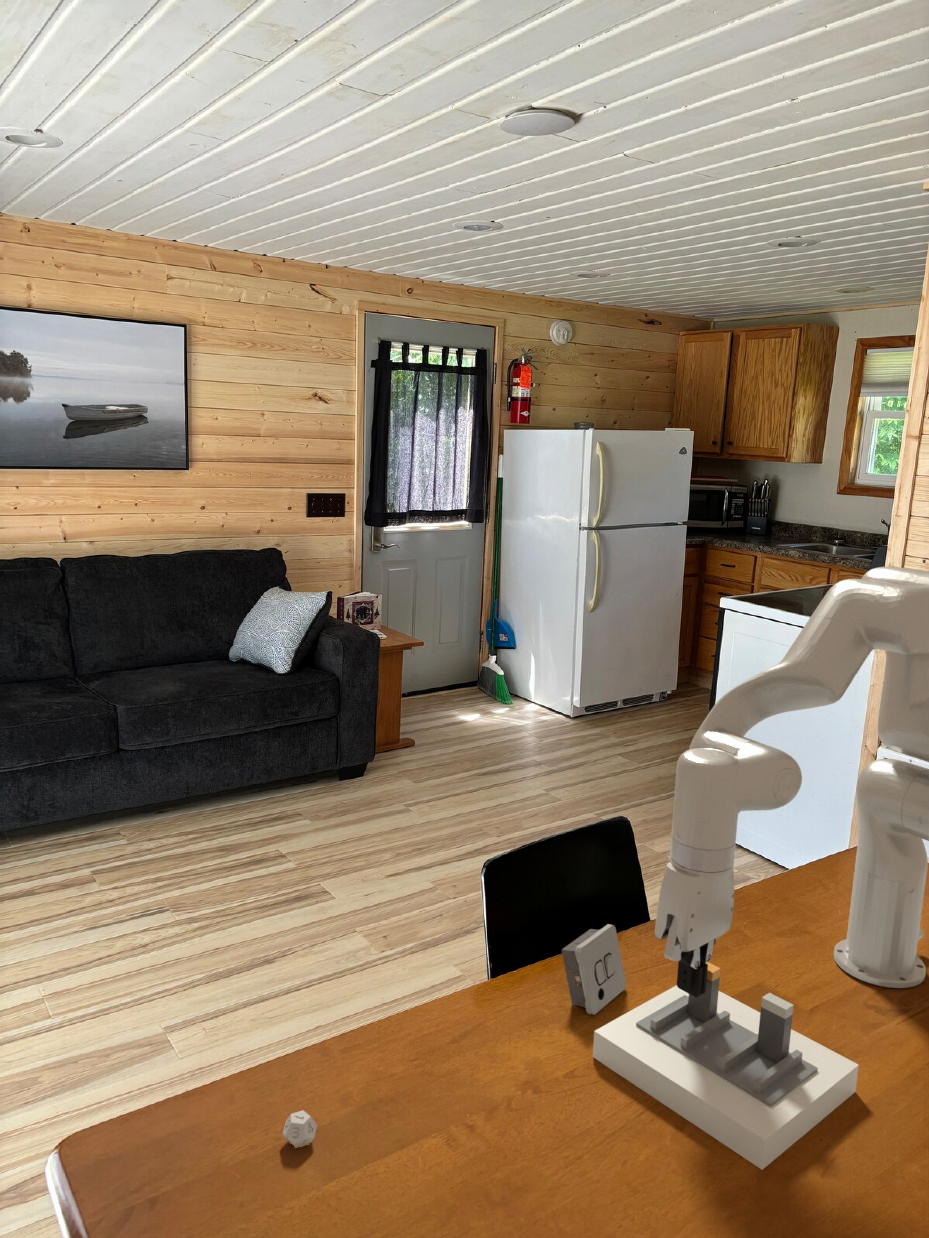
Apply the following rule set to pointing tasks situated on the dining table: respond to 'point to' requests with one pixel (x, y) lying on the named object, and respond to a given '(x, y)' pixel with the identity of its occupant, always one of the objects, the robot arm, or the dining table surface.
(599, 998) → the electrical switch
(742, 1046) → the lever base
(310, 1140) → the game die
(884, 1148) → the dining table surface
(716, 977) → the toggle
